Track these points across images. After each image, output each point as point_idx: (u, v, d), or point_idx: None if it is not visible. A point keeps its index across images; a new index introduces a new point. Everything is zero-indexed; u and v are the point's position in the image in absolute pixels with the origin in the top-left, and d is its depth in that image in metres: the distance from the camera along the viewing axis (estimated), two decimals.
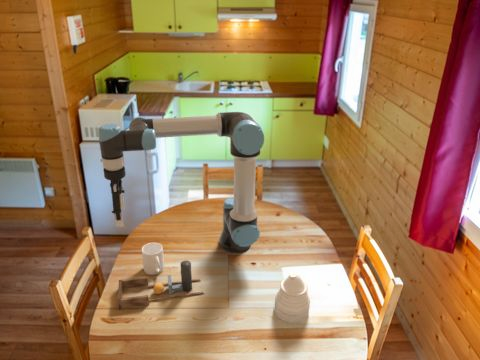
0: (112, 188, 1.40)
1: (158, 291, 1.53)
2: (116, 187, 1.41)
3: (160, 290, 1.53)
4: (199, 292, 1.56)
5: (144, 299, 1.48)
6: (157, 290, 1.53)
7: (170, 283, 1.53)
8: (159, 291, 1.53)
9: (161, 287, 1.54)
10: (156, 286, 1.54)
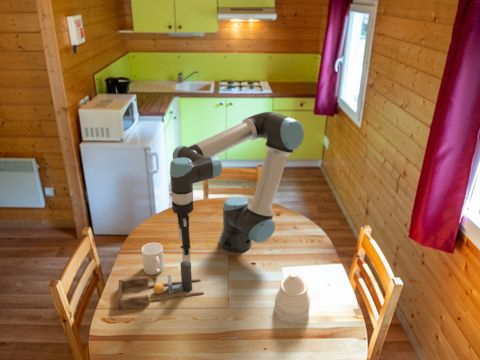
0: (182, 223, 1.37)
1: (158, 291, 1.53)
2: (186, 222, 1.38)
3: (160, 290, 1.53)
4: (199, 292, 1.56)
5: (144, 299, 1.48)
6: (157, 290, 1.53)
7: (170, 283, 1.53)
8: (159, 291, 1.53)
9: (161, 287, 1.54)
10: (156, 286, 1.54)
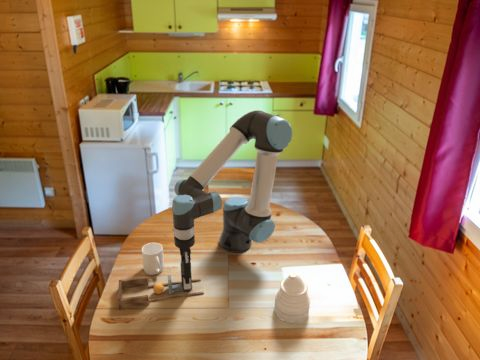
0: (184, 261, 1.45)
1: (158, 291, 1.53)
2: (188, 260, 1.45)
3: (160, 290, 1.53)
4: (199, 292, 1.56)
5: (144, 299, 1.48)
6: (157, 290, 1.53)
7: (170, 283, 1.53)
8: (159, 291, 1.53)
9: (161, 287, 1.54)
10: (156, 286, 1.54)
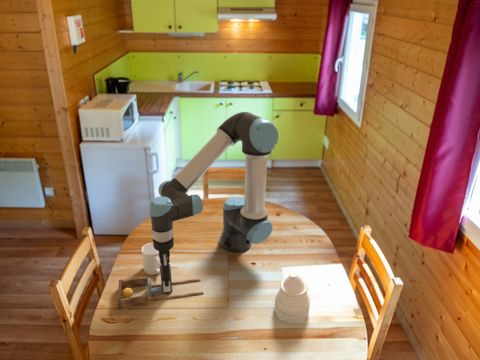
0: (163, 264, 1.43)
1: (127, 295, 1.51)
2: (167, 263, 1.43)
3: (129, 295, 1.51)
4: (199, 292, 1.56)
5: (144, 299, 1.48)
6: (127, 294, 1.51)
7: (149, 286, 1.51)
8: (128, 296, 1.51)
9: (131, 293, 1.52)
10: (128, 290, 1.51)
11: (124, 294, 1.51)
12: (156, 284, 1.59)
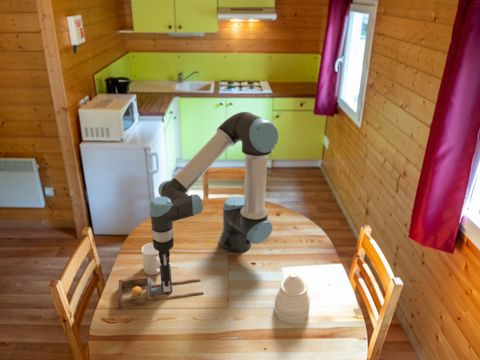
0: (163, 264, 1.43)
1: (137, 295, 1.52)
2: (166, 263, 1.43)
3: None
4: (199, 292, 1.56)
5: (144, 299, 1.48)
6: (139, 294, 1.52)
7: (149, 286, 1.51)
8: (137, 295, 1.52)
9: None
10: (141, 293, 1.53)
11: (139, 292, 1.52)
12: (156, 284, 1.59)
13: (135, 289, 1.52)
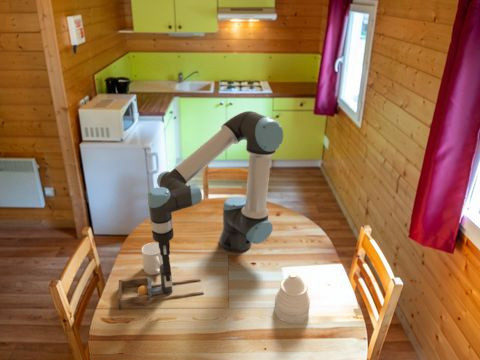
0: (162, 251, 1.40)
1: (142, 294, 1.52)
2: (166, 250, 1.41)
3: (141, 294, 1.52)
4: (199, 292, 1.56)
5: (144, 299, 1.48)
6: (143, 295, 1.53)
7: (149, 286, 1.51)
8: (142, 294, 1.52)
9: (139, 294, 1.53)
10: None
11: (146, 293, 1.53)
12: (156, 284, 1.59)
13: (146, 289, 1.53)
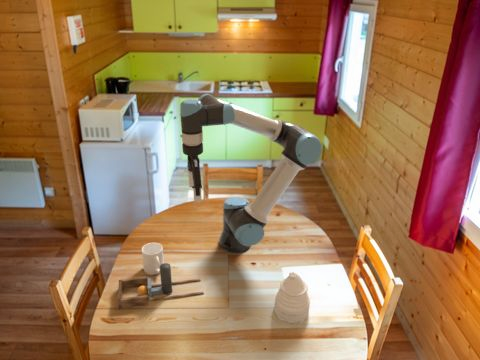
0: (193, 163, 1.41)
1: (142, 295, 1.52)
2: (197, 162, 1.42)
3: (141, 295, 1.52)
4: (199, 292, 1.56)
5: (144, 299, 1.48)
6: (143, 295, 1.53)
7: (149, 286, 1.51)
8: (142, 294, 1.52)
9: (139, 294, 1.53)
10: None
11: (146, 293, 1.53)
12: (156, 284, 1.59)
13: (146, 289, 1.53)
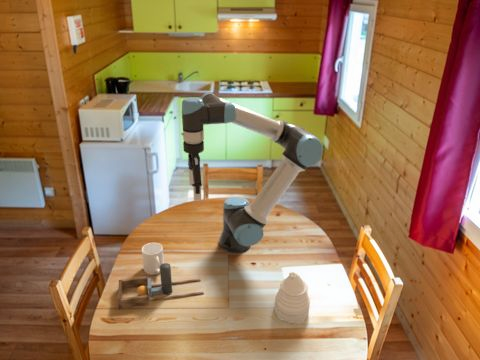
0: (194, 161, 1.41)
1: (142, 295, 1.52)
2: (197, 160, 1.42)
3: (141, 295, 1.52)
4: (199, 292, 1.56)
5: (144, 299, 1.48)
6: (143, 295, 1.53)
7: (149, 286, 1.51)
8: (141, 294, 1.52)
9: (139, 295, 1.53)
10: None
11: (145, 293, 1.53)
12: (156, 284, 1.59)
13: (145, 289, 1.53)
